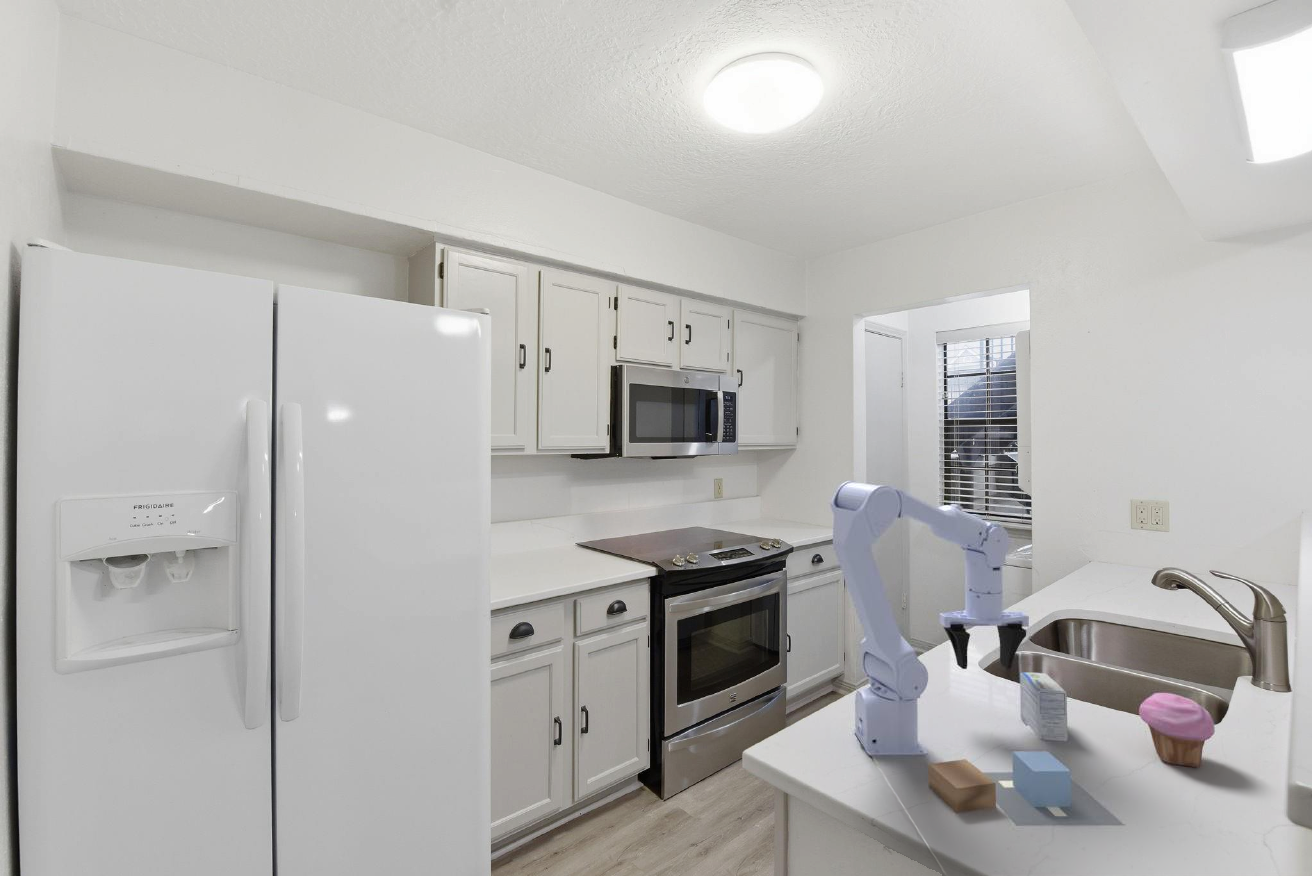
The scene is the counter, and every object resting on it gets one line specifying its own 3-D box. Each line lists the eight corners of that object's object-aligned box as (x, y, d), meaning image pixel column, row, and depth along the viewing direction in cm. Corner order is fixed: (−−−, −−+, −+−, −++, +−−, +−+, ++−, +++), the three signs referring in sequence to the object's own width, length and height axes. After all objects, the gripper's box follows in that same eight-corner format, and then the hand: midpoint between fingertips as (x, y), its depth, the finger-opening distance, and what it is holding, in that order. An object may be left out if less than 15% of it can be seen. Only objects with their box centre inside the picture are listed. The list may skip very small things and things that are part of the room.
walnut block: (957, 817, 81) (956, 788, 81) (929, 791, 87) (928, 764, 87) (995, 811, 82) (995, 782, 82) (965, 786, 88) (965, 759, 88)
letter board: (1016, 828, 79) (1016, 825, 79) (970, 775, 91) (970, 772, 91) (1124, 828, 78) (1124, 824, 78) (1063, 774, 90) (1063, 771, 90)
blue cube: (1033, 807, 82) (1033, 771, 82) (1012, 785, 87) (1012, 751, 87) (1070, 807, 82) (1070, 771, 82) (1047, 785, 87) (1047, 751, 87)
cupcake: (1152, 768, 92) (1152, 703, 91) (1130, 740, 100) (1131, 681, 99) (1226, 780, 88) (1226, 713, 88) (1198, 750, 96) (1198, 689, 96)
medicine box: (1068, 744, 99) (1068, 692, 99) (1038, 741, 100) (1038, 690, 100) (1047, 721, 107) (1047, 672, 106) (1019, 719, 108) (1019, 671, 107)
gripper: (952, 596, 101) (953, 676, 101) (1039, 595, 101) (1039, 675, 101) (934, 585, 108) (934, 660, 108) (1015, 584, 108) (1015, 659, 108)
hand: (983, 666), depth 105 cm, fingers open, 7 cm apart
